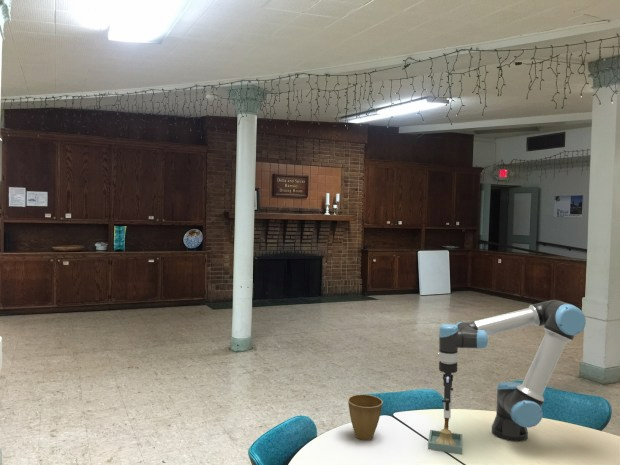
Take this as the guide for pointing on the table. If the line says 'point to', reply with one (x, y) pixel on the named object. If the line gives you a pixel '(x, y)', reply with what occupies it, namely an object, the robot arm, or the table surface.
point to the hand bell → (446, 435)
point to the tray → (444, 447)
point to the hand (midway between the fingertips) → (447, 411)
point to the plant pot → (364, 414)
